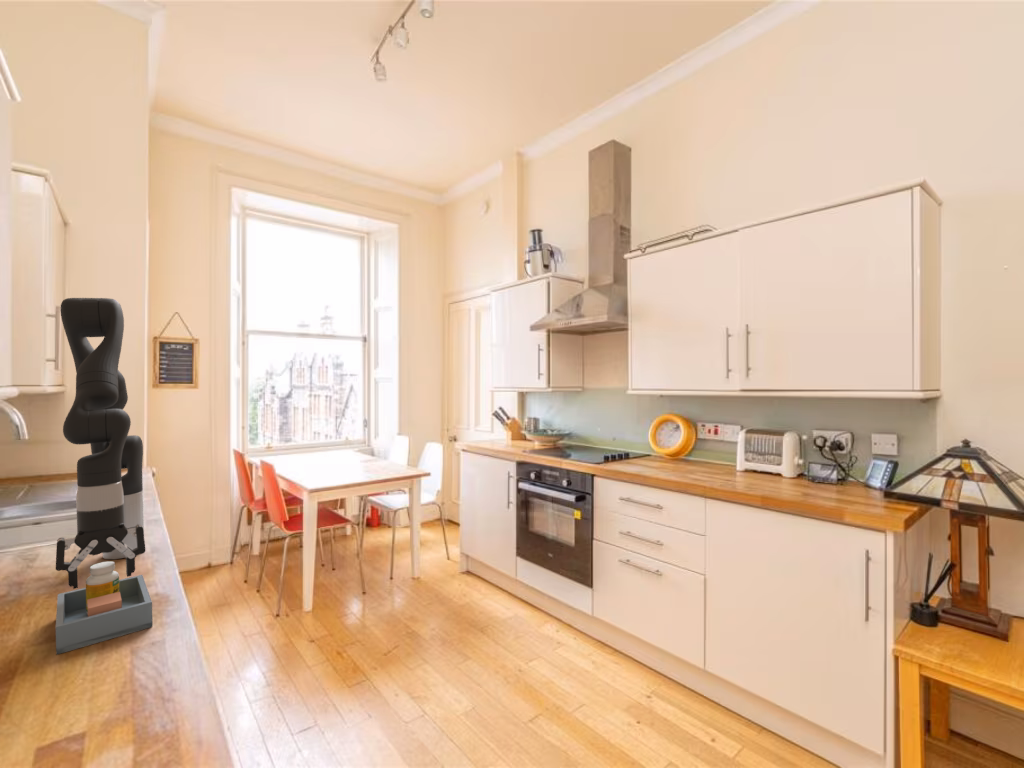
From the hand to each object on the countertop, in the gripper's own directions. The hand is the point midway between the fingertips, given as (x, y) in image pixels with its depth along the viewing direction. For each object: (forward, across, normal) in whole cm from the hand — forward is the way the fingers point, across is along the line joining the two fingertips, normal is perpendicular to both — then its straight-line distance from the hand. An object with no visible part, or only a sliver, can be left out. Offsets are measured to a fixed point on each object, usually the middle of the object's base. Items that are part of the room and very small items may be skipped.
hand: (103, 581), depth 101 cm
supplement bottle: (+6, 0, 0) cm, 6 cm away
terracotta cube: (+6, 0, -8) cm, 10 cm away
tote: (+7, 0, -4) cm, 8 cm away
